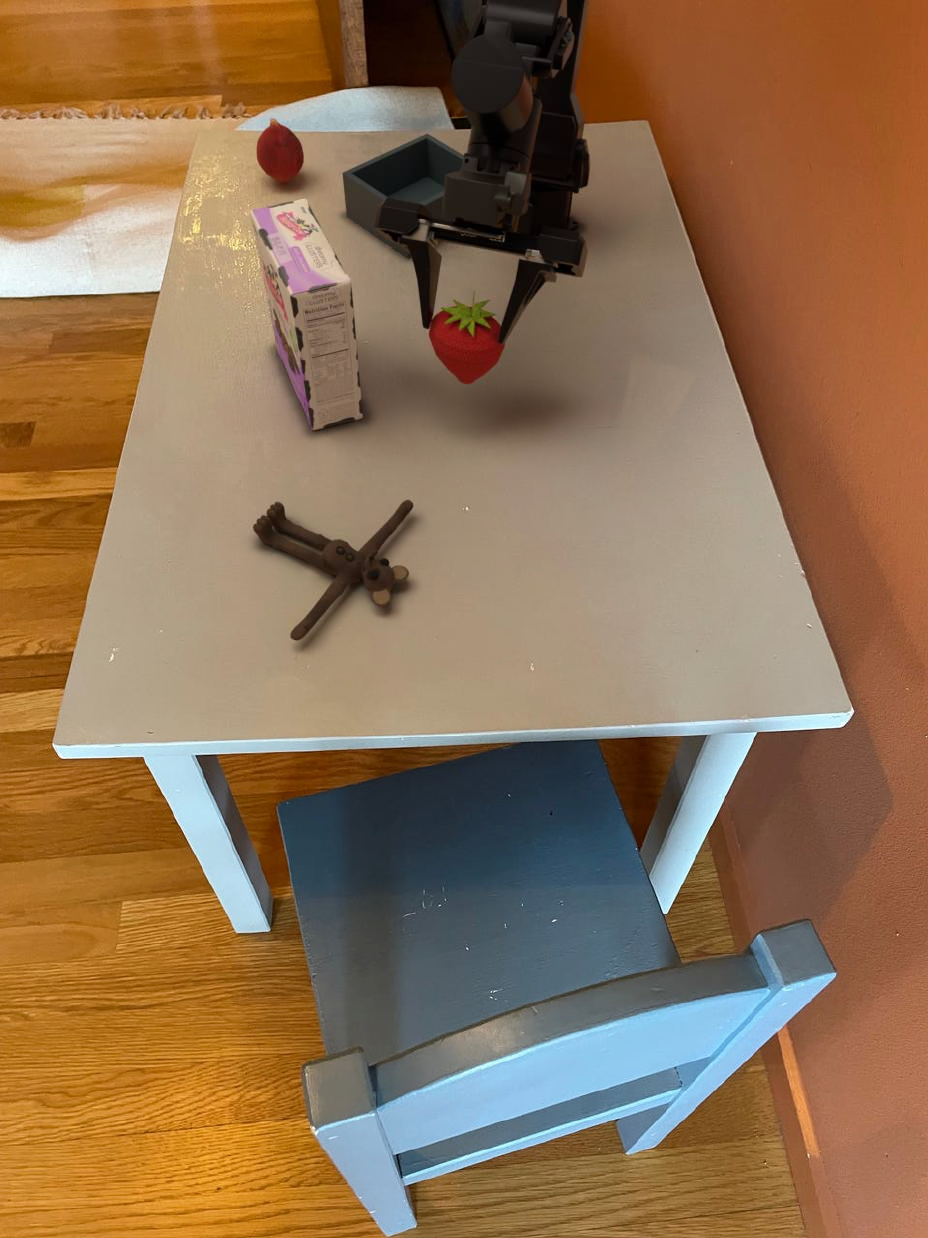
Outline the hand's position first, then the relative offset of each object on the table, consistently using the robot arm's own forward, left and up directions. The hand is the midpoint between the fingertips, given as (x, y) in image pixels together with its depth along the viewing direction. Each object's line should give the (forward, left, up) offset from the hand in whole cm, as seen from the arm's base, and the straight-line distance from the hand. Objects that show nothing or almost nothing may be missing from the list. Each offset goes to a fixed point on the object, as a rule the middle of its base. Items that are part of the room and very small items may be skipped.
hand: (462, 335), depth 83 cm
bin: (-21, -31, -11) cm, 39 cm away
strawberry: (-1, -1, -7) cm, 7 cm away
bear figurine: (+21, +5, -11) cm, 24 cm away
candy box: (+7, -15, -11) cm, 20 cm away
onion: (-13, -48, -11) cm, 51 cm away
